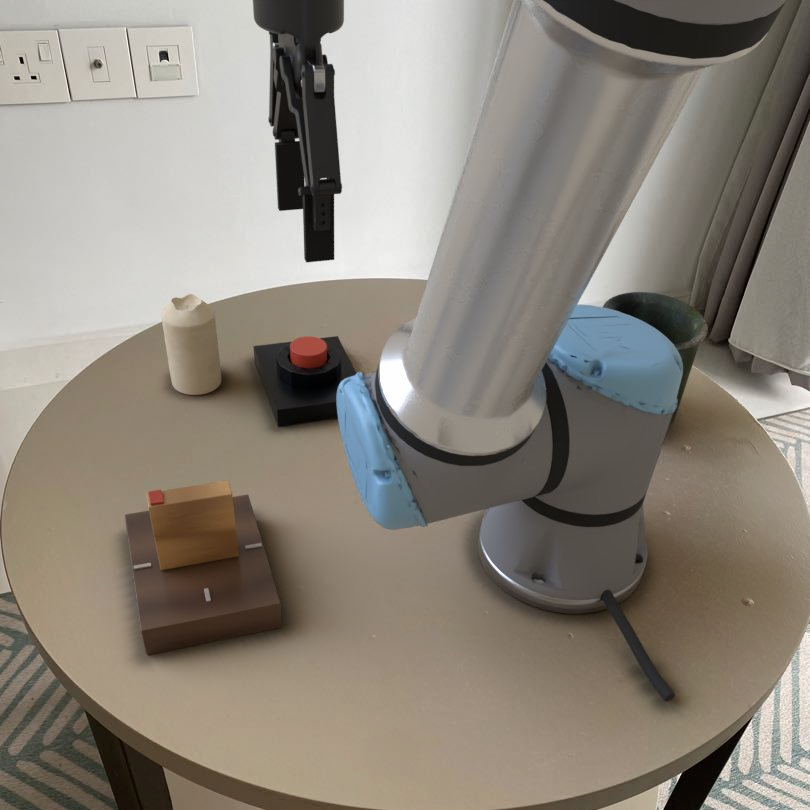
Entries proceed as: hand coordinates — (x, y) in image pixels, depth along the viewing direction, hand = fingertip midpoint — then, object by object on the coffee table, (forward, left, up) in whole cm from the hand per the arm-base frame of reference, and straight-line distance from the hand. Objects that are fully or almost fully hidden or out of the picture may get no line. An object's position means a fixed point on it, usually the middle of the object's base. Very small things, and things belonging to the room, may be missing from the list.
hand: (304, 232), depth 86 cm
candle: (+4, +12, -18) cm, 22 cm away
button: (0, 0, -14) cm, 14 cm away
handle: (-27, +16, -15) cm, 35 cm away
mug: (-15, -33, -18) cm, 41 cm away
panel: (-27, +16, -18) cm, 36 cm away
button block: (0, 0, -18) cm, 18 cm away
